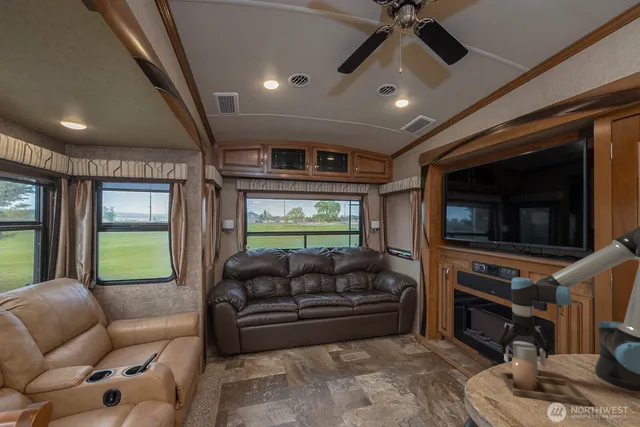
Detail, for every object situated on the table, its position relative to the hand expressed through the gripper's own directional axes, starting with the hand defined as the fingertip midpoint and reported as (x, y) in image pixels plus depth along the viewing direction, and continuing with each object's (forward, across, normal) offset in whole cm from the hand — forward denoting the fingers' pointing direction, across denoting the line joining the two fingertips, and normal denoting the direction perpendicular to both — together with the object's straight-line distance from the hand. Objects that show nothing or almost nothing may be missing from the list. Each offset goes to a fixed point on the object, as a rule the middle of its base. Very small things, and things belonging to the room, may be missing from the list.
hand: (524, 363), depth 116 cm
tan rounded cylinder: (+4, +5, +13) cm, 14 cm away
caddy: (+4, 0, +13) cm, 14 cm away
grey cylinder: (+4, 0, 0) cm, 4 cm away
